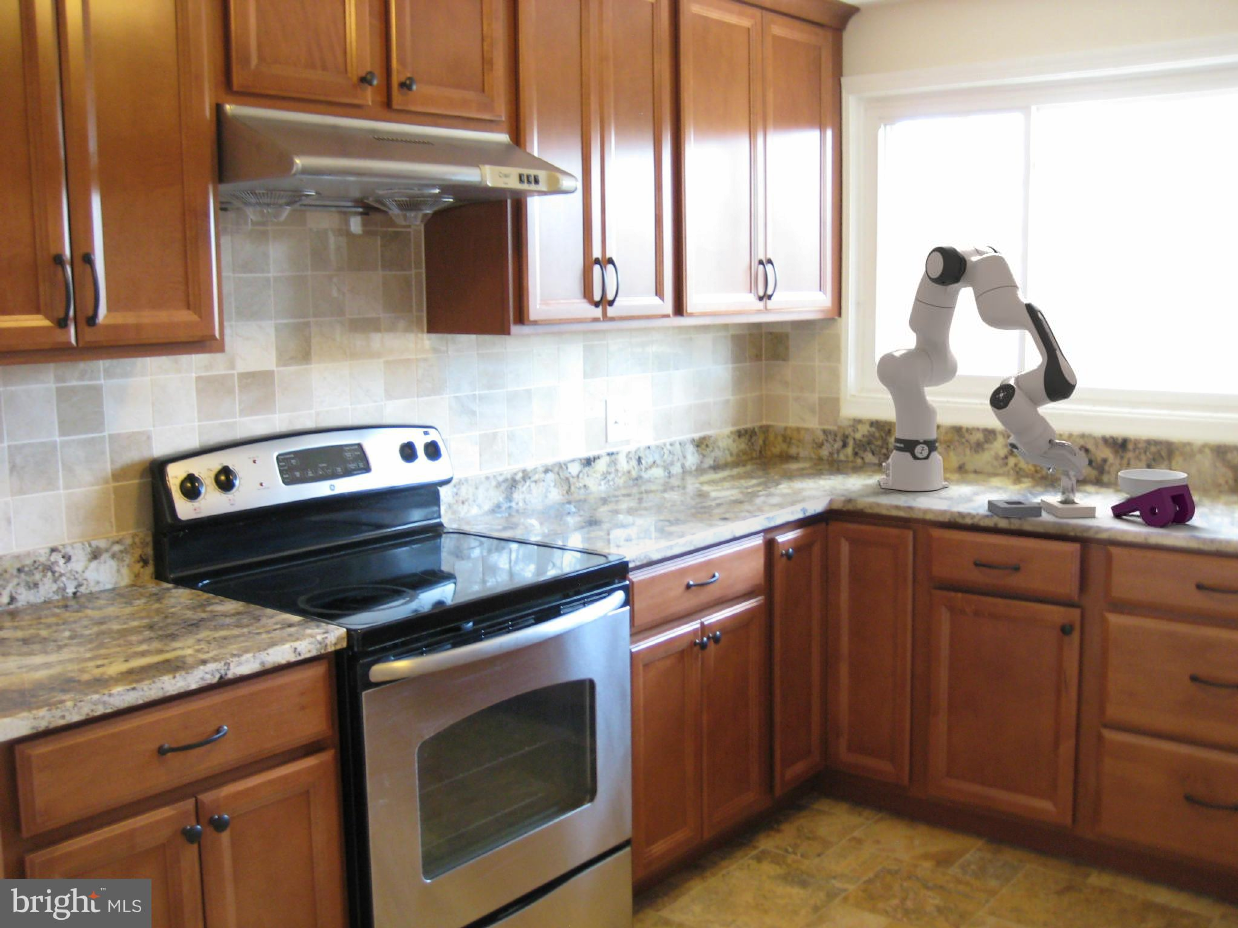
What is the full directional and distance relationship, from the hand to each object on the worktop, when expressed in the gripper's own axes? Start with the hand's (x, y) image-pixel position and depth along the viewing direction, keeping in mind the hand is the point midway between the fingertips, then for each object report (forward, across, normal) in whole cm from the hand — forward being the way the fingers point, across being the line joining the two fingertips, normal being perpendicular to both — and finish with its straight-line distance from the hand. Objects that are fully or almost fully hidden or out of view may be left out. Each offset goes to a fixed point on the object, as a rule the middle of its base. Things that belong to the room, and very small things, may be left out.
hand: (1066, 474), depth 299 cm
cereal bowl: (+29, +3, -15) cm, 33 cm away
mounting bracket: (+14, -16, 0) cm, 22 cm away
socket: (-1, +5, +15) cm, 16 cm away
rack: (+7, 0, +6) cm, 10 cm away
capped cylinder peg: (+7, 0, +6) cm, 10 cm away
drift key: (+7, +11, +8) cm, 15 cm away
